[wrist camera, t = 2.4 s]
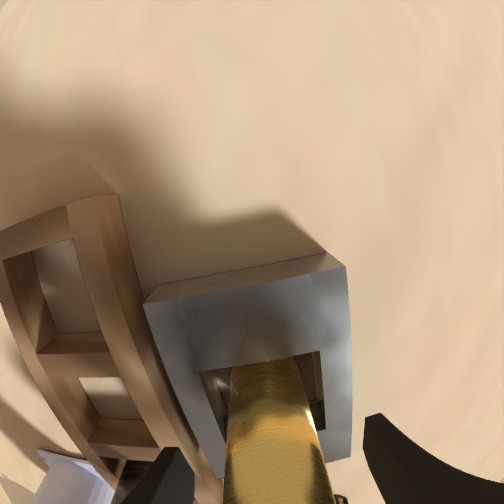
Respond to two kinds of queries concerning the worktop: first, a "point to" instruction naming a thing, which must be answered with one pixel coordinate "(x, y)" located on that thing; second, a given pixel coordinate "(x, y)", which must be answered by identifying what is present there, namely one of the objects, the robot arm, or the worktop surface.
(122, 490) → the black round bar
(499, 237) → the worktop surface
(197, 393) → the steel socket
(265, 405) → the brass round bar
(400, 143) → the worktop surface
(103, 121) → the worktop surface
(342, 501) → the ammunition clip
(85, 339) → the walnut rack
